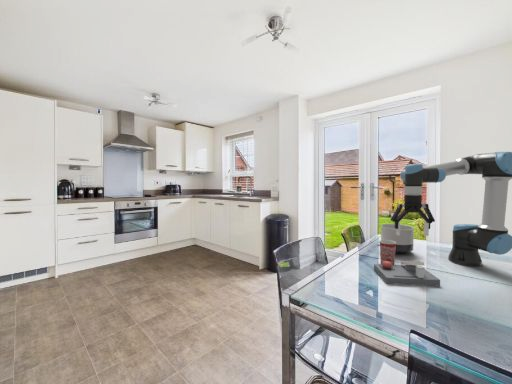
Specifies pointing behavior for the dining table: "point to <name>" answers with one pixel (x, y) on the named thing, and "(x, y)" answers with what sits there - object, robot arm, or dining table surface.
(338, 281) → the dining table surface
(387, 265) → the button
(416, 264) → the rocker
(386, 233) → the planter
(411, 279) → the panel
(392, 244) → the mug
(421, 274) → the slider
